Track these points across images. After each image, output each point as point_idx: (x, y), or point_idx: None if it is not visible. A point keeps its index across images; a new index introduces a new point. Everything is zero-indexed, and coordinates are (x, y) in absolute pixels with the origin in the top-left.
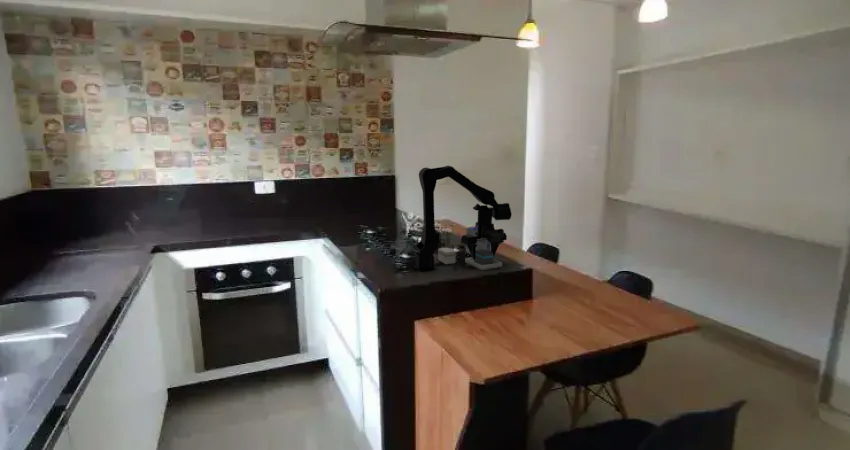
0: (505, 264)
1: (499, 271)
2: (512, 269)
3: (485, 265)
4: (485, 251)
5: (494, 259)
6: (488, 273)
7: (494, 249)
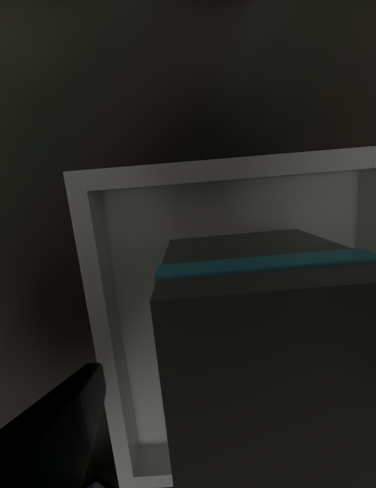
0: (7, 247)
1: (200, 29)
2: (9, 40)
3: (343, 149)
4: (254, 456)
5: (94, 334)
6: (365, 7)
7: (14, 477)
